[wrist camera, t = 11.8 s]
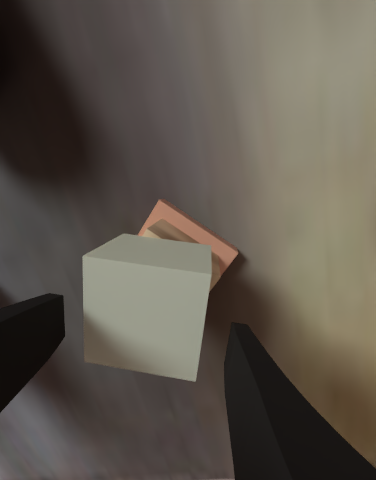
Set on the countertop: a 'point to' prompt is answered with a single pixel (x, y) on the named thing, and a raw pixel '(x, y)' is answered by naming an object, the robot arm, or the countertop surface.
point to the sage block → (146, 304)
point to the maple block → (170, 232)
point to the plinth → (192, 231)
